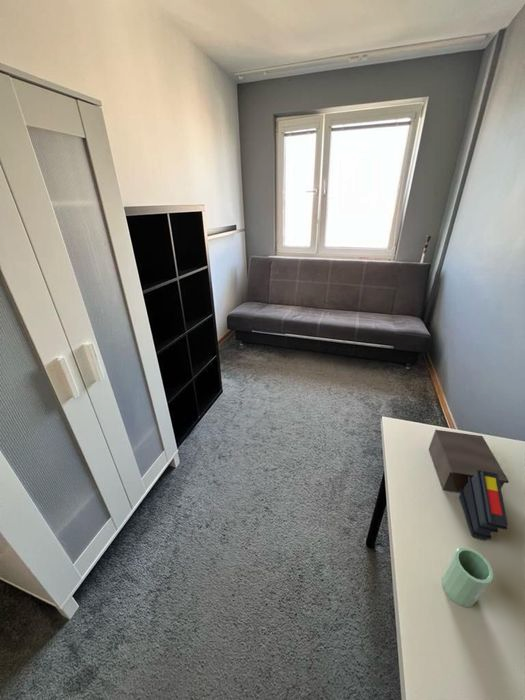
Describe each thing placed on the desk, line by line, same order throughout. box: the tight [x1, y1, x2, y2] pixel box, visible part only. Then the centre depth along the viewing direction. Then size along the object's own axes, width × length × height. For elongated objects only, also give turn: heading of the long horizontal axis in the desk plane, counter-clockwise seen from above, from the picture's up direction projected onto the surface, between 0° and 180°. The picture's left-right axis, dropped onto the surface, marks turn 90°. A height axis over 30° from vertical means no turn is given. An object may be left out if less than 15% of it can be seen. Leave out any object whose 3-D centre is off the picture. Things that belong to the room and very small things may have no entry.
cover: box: [434, 429, 510, 484], centre depth 78 cm, size 16×13×1 cm
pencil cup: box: [441, 546, 494, 608], centre depth 56 cm, size 6×6×10 cm
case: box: [428, 432, 505, 494], centre depth 80 cm, size 15×13×8 cm
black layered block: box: [458, 470, 509, 541], centre depth 67 cm, size 4×13×15 cm, turn 163°
